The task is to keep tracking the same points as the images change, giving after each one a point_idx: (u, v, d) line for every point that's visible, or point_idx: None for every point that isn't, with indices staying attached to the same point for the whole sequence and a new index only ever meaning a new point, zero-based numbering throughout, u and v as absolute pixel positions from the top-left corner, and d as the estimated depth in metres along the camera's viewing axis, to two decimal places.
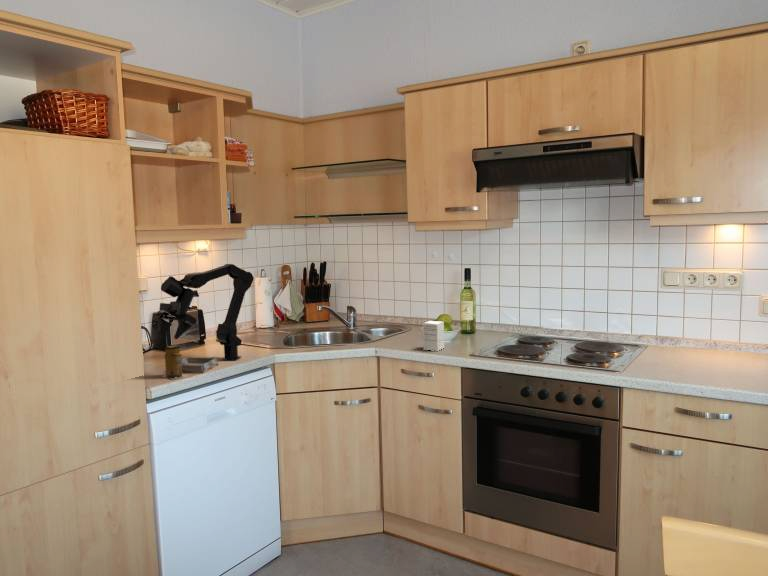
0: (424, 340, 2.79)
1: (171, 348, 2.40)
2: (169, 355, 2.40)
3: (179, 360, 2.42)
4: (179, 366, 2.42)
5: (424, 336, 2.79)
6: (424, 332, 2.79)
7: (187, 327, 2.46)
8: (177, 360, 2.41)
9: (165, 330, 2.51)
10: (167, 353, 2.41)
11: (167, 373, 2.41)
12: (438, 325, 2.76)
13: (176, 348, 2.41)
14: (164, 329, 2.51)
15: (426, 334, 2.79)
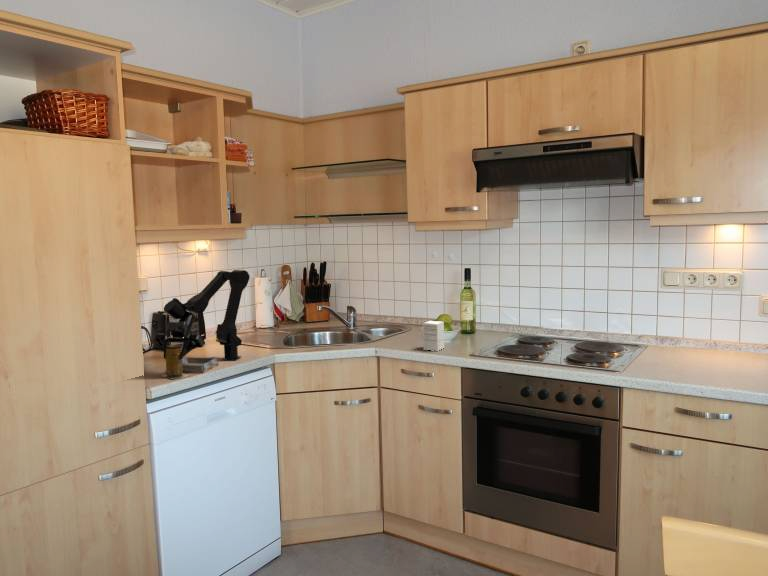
0: (424, 340, 2.79)
1: (172, 348, 2.40)
2: (170, 355, 2.40)
3: (180, 360, 2.42)
4: (180, 366, 2.42)
5: (424, 336, 2.79)
6: (424, 332, 2.79)
7: (190, 348, 2.46)
8: (178, 360, 2.41)
9: None
10: (168, 353, 2.41)
11: (167, 373, 2.41)
12: (438, 325, 2.76)
13: (177, 348, 2.41)
14: None
15: (426, 334, 2.79)
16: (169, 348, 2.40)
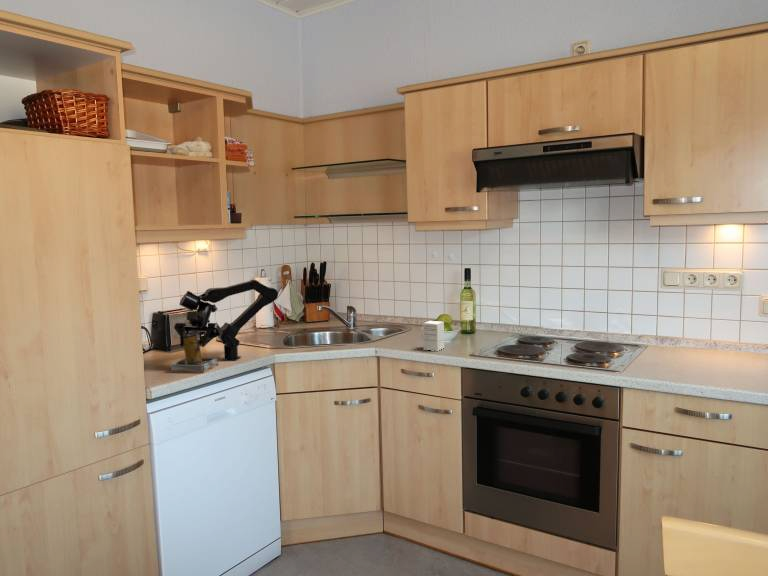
0: (424, 340, 2.79)
1: (188, 336, 2.53)
2: (188, 343, 2.52)
3: (197, 347, 2.54)
4: (198, 353, 2.54)
5: (424, 336, 2.79)
6: (424, 332, 2.79)
7: (212, 337, 2.57)
8: (195, 347, 2.53)
9: None
10: (185, 342, 2.53)
11: (188, 361, 2.53)
12: (438, 325, 2.76)
13: (193, 336, 2.54)
14: None
15: (426, 334, 2.79)
16: (186, 337, 2.53)
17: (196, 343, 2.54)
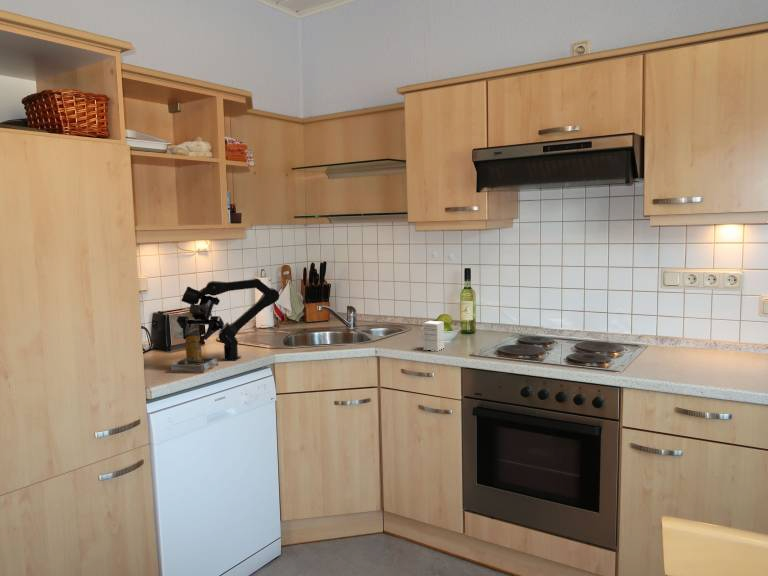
0: (424, 340, 2.79)
1: (191, 335, 2.54)
2: (189, 341, 2.53)
3: (199, 346, 2.55)
4: (199, 352, 2.54)
5: (424, 336, 2.79)
6: (424, 332, 2.79)
7: (214, 330, 2.59)
8: (197, 346, 2.54)
9: (187, 333, 2.58)
10: (187, 340, 2.54)
11: (188, 359, 2.53)
12: (438, 325, 2.76)
13: (195, 335, 2.55)
14: (186, 332, 2.58)
15: (426, 334, 2.79)
16: (188, 335, 2.54)
17: (198, 342, 2.55)
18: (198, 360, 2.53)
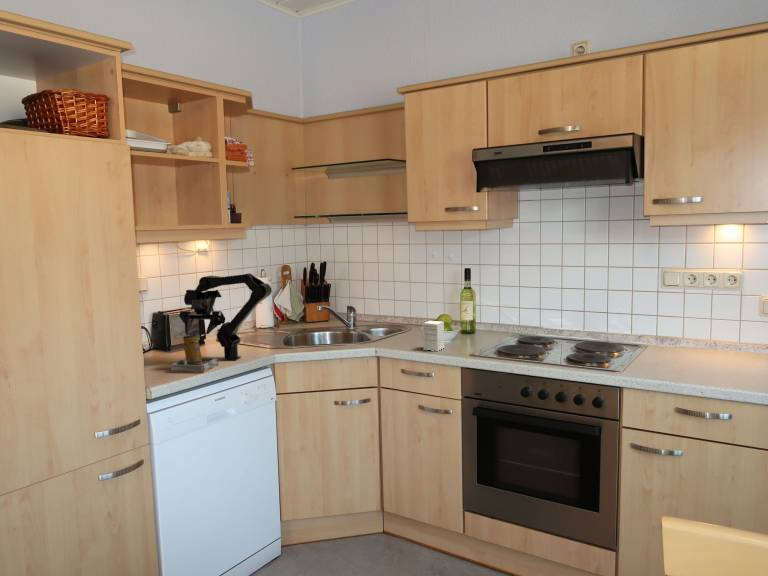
0: (424, 340, 2.79)
1: (188, 336, 2.53)
2: (188, 343, 2.53)
3: (197, 347, 2.54)
4: (198, 353, 2.54)
5: (424, 336, 2.79)
6: (424, 332, 2.79)
7: (216, 324, 2.63)
8: (195, 347, 2.54)
9: (189, 328, 2.63)
10: (185, 342, 2.53)
11: (188, 361, 2.53)
12: (438, 325, 2.76)
13: (193, 336, 2.54)
14: (188, 327, 2.62)
15: (426, 334, 2.79)
16: (186, 337, 2.53)
17: (196, 343, 2.54)
18: (198, 361, 2.53)
